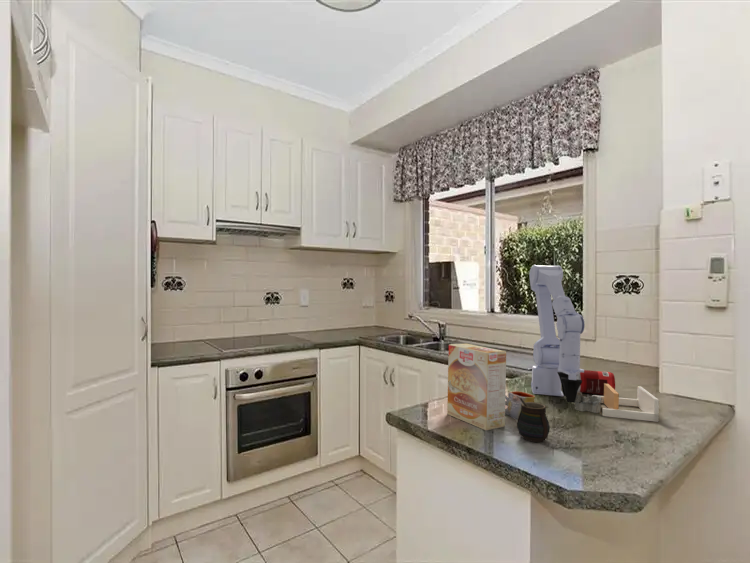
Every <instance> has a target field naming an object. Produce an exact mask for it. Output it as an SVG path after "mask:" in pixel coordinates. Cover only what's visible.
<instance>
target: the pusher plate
mask: <svg viewBox="0 0 750 563" xmlns="http://www.w3.org/2000/svg"><path fill="white" fill-rule="evenodd" d="M603 396H604V403H603V404H604V405H605V406H606V408H609V409H619V407H620V405H619V398H620V394H619V392H617V390H616V389H615V390H614V389H613V388H612V387H611V386H610V385H609V384H604V394H603ZM619 410H620V409H619Z"/></svg>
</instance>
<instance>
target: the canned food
mask: <svg viewBox="0 0 750 563" xmlns="http://www.w3.org/2000/svg"><path fill="white" fill-rule="evenodd" d="M583 370H584V372H580V373H579V374H577V378H576V379H577V380H582V383H581V385H580V387H579V389H578V391H577V392H580V393H582V394H583V393H584V394H593V395H604V384H609V385H610V386H611V387H612V388H613V389H614V390H615V391H616V378H615V375H614V373H613V372H610V371H599V370H587V369H586V370H585V369H583Z"/></svg>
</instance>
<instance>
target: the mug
mask: <svg viewBox="0 0 750 563" xmlns="http://www.w3.org/2000/svg"><path fill="white" fill-rule="evenodd" d="M520 398H522V400H523V401H524V402H535V400H536V396H535V394H534V395H533V394H531V393H527V392H523V391H520V390H517V391H515V390H514V391H509V392H508V395H506V394H505V406H507V407H506V408H505V416H506V415H507V416H509V417H510V418H512V420H513V419H514V420H516V421H518V417H519V415H520V412H521V404H522V401H521V400H520Z"/></svg>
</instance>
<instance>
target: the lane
mask: <svg viewBox="0 0 750 563" xmlns="http://www.w3.org/2000/svg"><path fill="white" fill-rule="evenodd" d="M636 389H637V392H636V393H637V394H636V398H626V397H619V406H628V407H638V408H639V409H640V410H641V411H639V410H638V411H637V410H629V409H628V410H626V409H609V408H608V407H602V408H601V416H602V417H610V418H619V419H629V420H637V421H650V422H657V423H658V422H659V415H660V414H659V413H660V412H659V410H660V406H659V404H660V403H659V402H660V399H659V398H657V397H656V396H655V395H653V394H652V393H650V392H649V391H648V390H647V389H645V388H644V387H643V386H641V385H639V386H637V388H636ZM593 395H594V396H597V394H593ZM593 395H592V394H591V396H593ZM600 396H601V402H600V404H604V395H600Z"/></svg>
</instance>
